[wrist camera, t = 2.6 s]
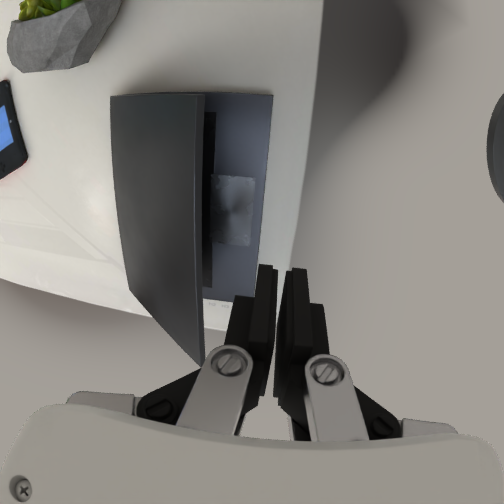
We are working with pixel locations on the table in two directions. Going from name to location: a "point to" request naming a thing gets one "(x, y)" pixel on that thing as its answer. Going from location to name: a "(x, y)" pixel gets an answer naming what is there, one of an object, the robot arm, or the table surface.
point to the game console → (9, 134)
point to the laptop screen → (162, 208)
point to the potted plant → (58, 33)
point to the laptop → (232, 189)
